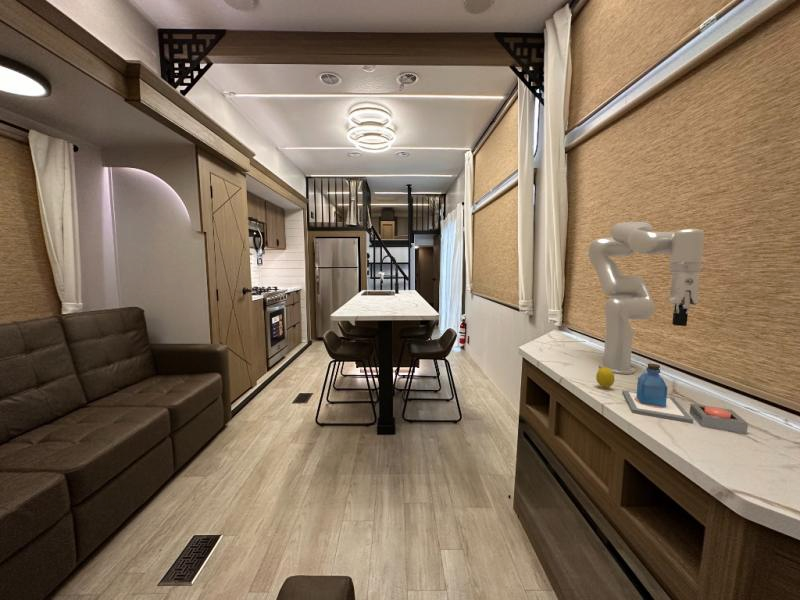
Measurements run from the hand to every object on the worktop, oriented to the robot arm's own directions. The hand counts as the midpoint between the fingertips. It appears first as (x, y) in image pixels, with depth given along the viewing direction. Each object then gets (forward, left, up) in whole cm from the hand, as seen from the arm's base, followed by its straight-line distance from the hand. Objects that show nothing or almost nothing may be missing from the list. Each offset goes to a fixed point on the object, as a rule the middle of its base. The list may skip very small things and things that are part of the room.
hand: (679, 325), depth 102 cm
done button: (+15, +6, -24) cm, 29 cm away
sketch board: (+10, -7, -25) cm, 28 cm away
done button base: (+15, +6, -25) cm, 30 cm away
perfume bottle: (+10, -8, -24) cm, 27 cm away
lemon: (-1, -19, -25) cm, 32 cm away
